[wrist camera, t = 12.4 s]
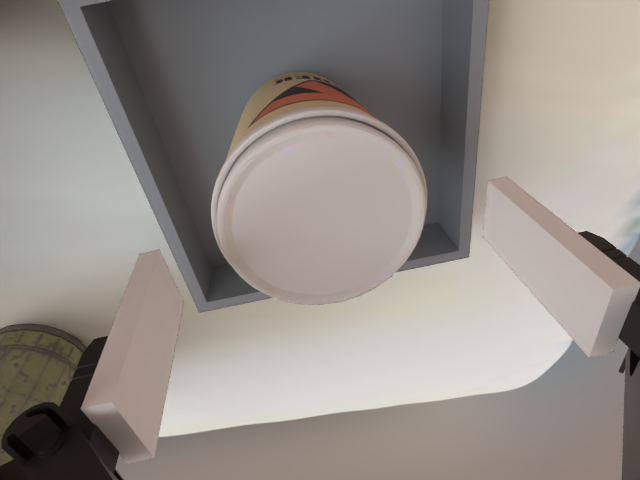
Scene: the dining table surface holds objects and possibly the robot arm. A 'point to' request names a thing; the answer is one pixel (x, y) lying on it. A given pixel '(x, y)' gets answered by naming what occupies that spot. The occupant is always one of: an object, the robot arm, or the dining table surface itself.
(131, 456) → the robot arm
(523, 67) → the dining table surface
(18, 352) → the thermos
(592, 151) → the dining table surface
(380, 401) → the dining table surface
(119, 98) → the tray
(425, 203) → the coffee cup
